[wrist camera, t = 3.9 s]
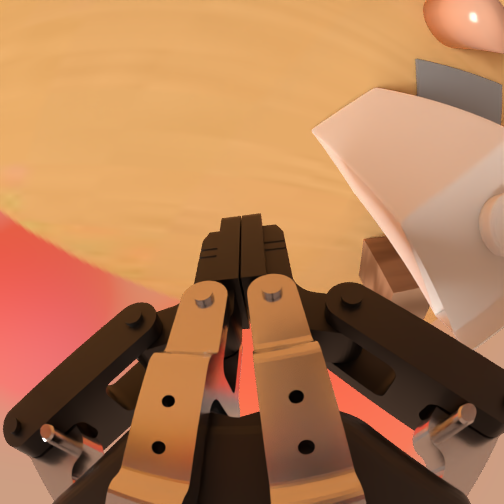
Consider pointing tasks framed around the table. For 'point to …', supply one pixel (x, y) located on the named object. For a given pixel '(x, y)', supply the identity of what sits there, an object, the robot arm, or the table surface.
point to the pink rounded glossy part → (467, 23)
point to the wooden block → (390, 276)
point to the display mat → (459, 89)
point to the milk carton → (431, 198)
